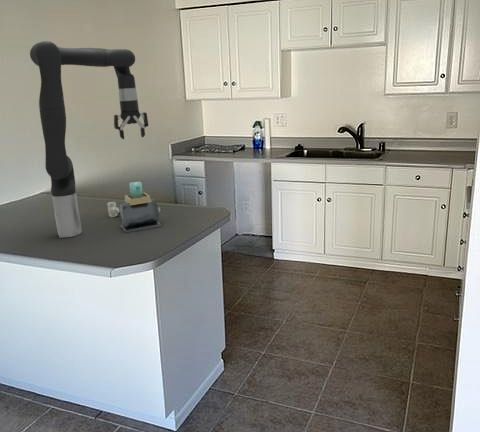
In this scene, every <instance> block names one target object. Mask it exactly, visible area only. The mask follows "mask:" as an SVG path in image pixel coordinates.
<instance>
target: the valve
mask: <svg viewBox="0 0 480 432" xmlns="http://www.w3.org/2000/svg"><path fill="white" fill-rule="evenodd" d="M106 205H107V212H108V217H109V218H115V217H117V216H118V215H120V207H118V206H117V203H116V201H109V202H107V203H106ZM119 218H120V219H121V215H120V216H119Z"/></svg>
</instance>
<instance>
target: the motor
mask: <svg viewBox="0 0 480 432" xmlns="http://www.w3.org/2000/svg"><path fill="white" fill-rule="evenodd" d="M124 202H125V203H120V205H119V208H120V216H121V218H120V220H121V222H122V223H121V224H120V228H121V229H122V230H123V231H124V232H125V233H126V232H127V233H131V231H133V232H137V230H138V231H144V230H149V229H154V228H158V227H162V223H161V222H159V219H160V214H159V213H160V212H161V210H162V209H161V207H160V206H158V204H157V203H158V202H157V201H156V199H155V198H151V195H149V194H148V193H146V192H145V191H144V192H143V197H139V198H132V199H131V194H125V195H124Z"/></svg>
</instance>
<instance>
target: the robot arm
mask: <svg viewBox="0 0 480 432" xmlns="http://www.w3.org/2000/svg"><path fill="white" fill-rule="evenodd" d="M29 56H30V59H31V61H32V62H33V63H34V65H36V66H37V67H38V69H39V74H40V75H39V76H40V90H39V91H40V92H39V97H38V98H39V99H38V108H39V116H40V123H41V129H42V134H43V135H42V136H43V141H44V148H45V171H46V173H47V174H48V176H49V177H50V181H51V183H50V185H51V186H50V193H51V198H52V204H53V210H54V219H55V224H56V225H55V226H56V230H57V235H58V237H59V238H60V239H61V238H74V237H76V236H79V235H82V233H83V231H82V230H83V229H82V223H81V216H80V211H79V206H78V205H79V204H78V198H77V190H76V177H75V172H74V171H75V170H74V164H73V161H72V159H71V158H70V157H69V156H68V154H67V150H66V149H67V148H66V132H67V114H66V105H65V97H64V90H63V83H62V66H70V65H71V66H85V67H96V68H98V67H101V68H107V67H113V69H114V72H115V75H116V77H117V85H118V100H119V107H120V114H113V126H114V129H115V130H118V132H119V137H120V139H122V140H125V133H124V128H125V127H126V125H132V124H134V125H135V124H137V125H138V126H139V127H140V128H139V130H140V137H141V138H144V137H145V136H146V131H145V129H146V127H149V119H148V114H147V112H144V111H143V112H140V109H139V102H138V92H137V89H136V80H135V76H134V74H133V73H131V70H130V69H131V68H130V67H133V65H134V64H135V62H136V56H135V54H134V52H132V51H131V50H129V49H127V48H126V49H125V48H119V49H118V48H115V49H114V48H113V49H112V48H111V49H108V48H107V49H106V48H99V47H96V48H95V47H79V48H78V47H75V48H71V47H59V46H57V44H55V43H54V42H52V41H50V40H49V41H48V40H46V41H45V40H44V41H40V42H37V43H35V44H34V45H33V46H32V47H31V49H30V51H29ZM140 117H141V118H143V119H142V120H143V123H142V121H141V120H140ZM120 119H121V120H122V121H121V123H120V126H119V120H120Z"/></svg>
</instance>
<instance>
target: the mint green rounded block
mask: <svg viewBox="0 0 480 432" xmlns="http://www.w3.org/2000/svg"><path fill="white" fill-rule="evenodd" d="M128 184H129V185H128V186H129V192H130V194H129V195H131V199H132V198H139V197H143V193H144V192H143V184H142V181H132V182H131V181H130V182H129V183H128Z"/></svg>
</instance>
